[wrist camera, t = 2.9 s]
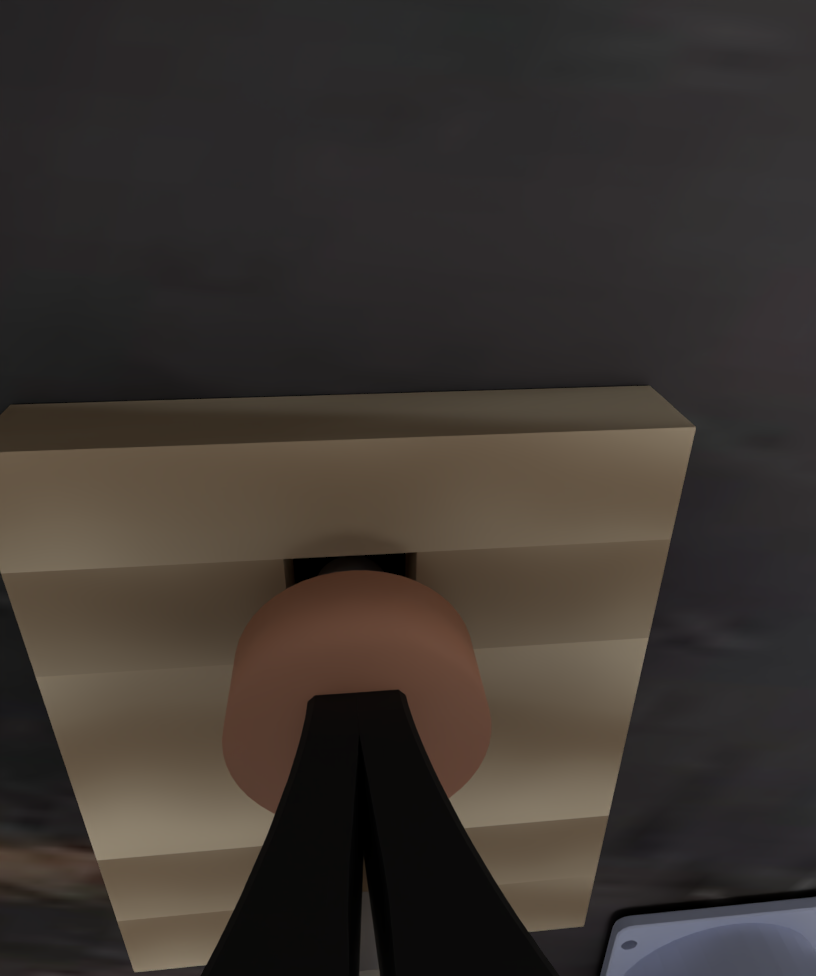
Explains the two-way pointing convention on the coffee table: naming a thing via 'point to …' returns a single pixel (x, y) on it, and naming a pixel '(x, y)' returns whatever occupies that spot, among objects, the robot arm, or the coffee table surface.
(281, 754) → the rust plunger
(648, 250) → the coffee table surface
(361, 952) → the grey plunger
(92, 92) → the coffee table surface
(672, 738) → the coffee table surface
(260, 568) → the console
